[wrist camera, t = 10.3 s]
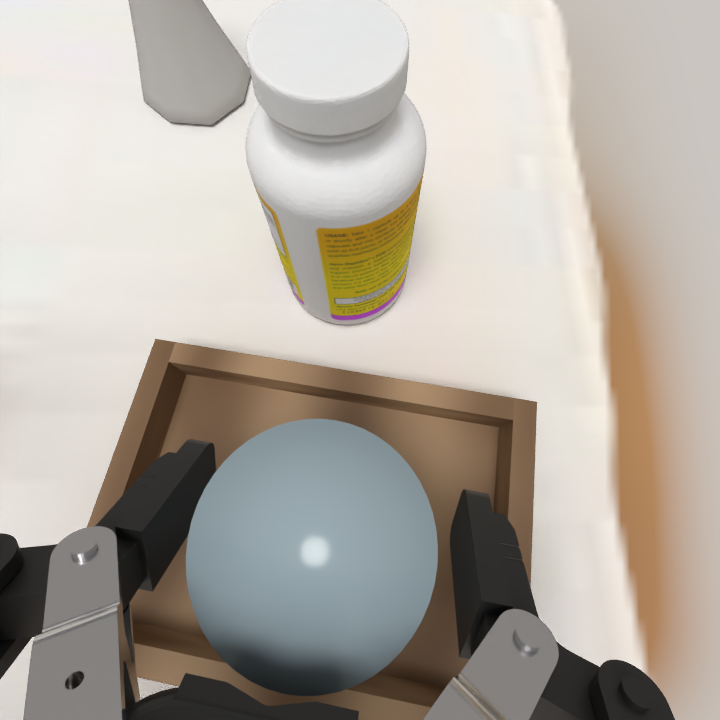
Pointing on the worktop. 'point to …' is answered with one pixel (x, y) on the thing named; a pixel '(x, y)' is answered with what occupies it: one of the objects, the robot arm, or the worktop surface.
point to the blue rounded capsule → (311, 557)
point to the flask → (186, 61)
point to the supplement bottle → (336, 151)
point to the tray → (334, 402)
